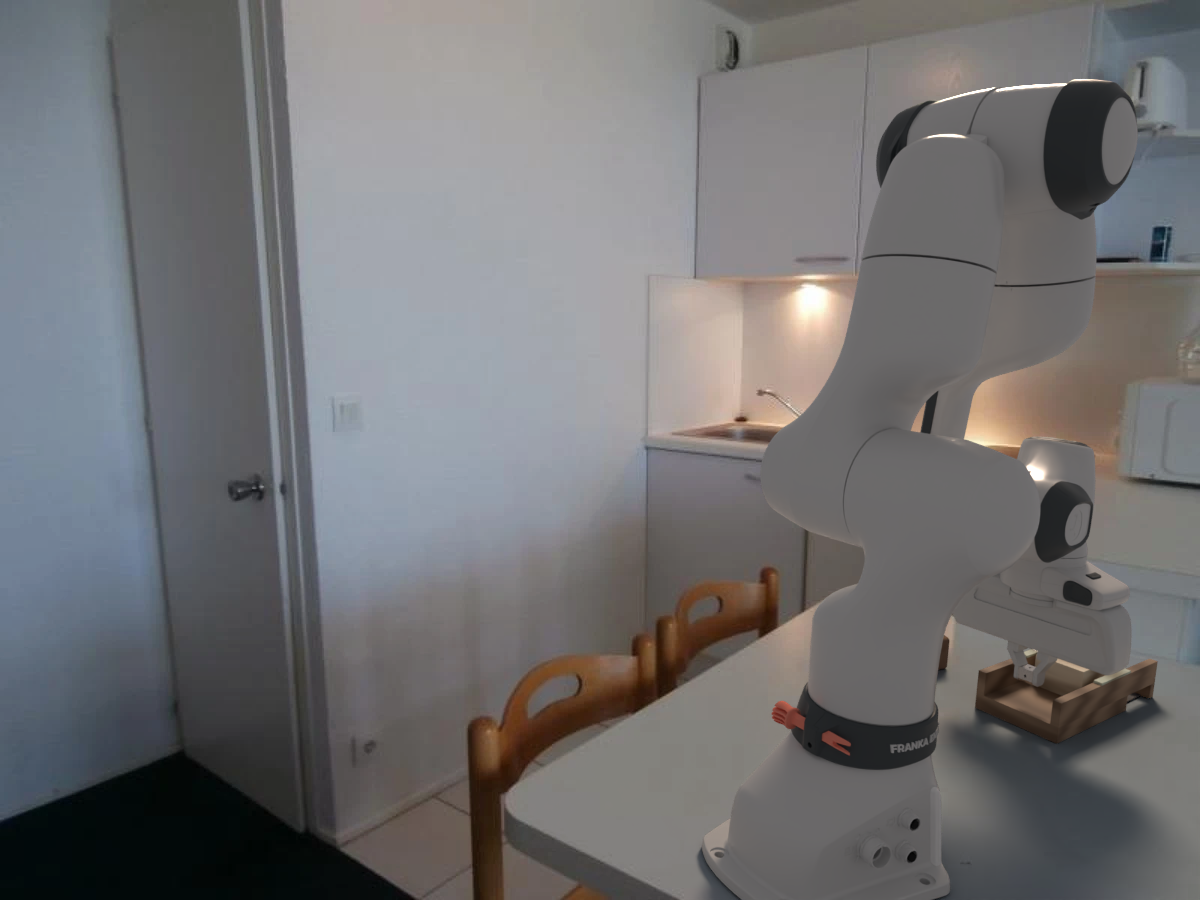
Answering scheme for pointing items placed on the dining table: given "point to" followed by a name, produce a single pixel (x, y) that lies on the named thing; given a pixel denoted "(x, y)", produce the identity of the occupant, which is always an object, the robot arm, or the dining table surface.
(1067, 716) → the walled channel
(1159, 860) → the dining table surface
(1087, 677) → the birch block
